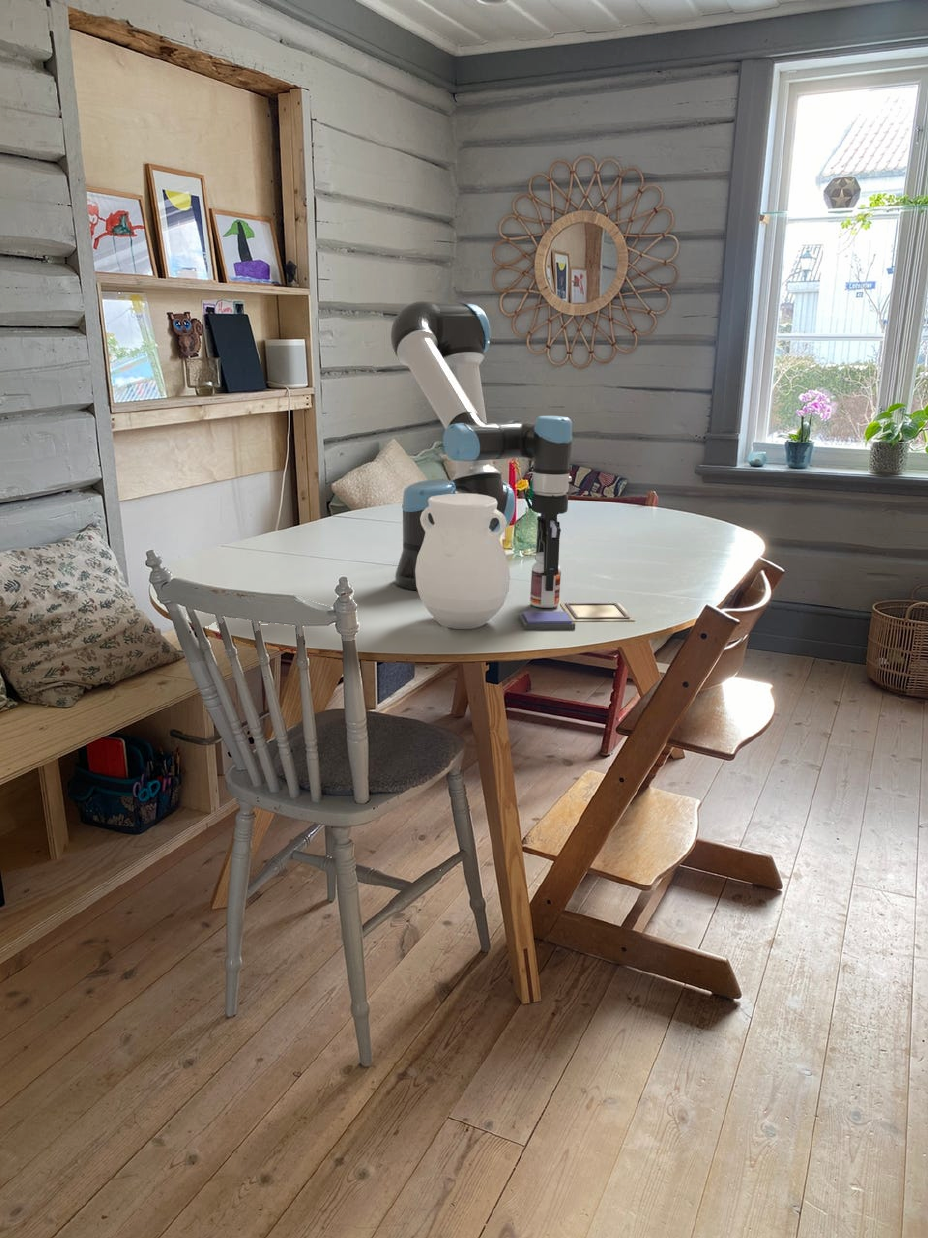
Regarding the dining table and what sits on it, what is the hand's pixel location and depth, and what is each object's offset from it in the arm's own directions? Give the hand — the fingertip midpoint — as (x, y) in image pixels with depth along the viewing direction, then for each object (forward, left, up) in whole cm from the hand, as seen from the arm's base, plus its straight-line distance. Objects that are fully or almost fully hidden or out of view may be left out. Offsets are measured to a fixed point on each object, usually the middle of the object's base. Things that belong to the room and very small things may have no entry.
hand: (544, 600), depth 202 cm
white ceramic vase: (-19, -12, -1) cm, 23 cm away
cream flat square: (+10, -5, -1) cm, 11 cm away
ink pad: (-2, -13, -1) cm, 13 cm away
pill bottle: (0, 0, -1) cm, 1 cm away
